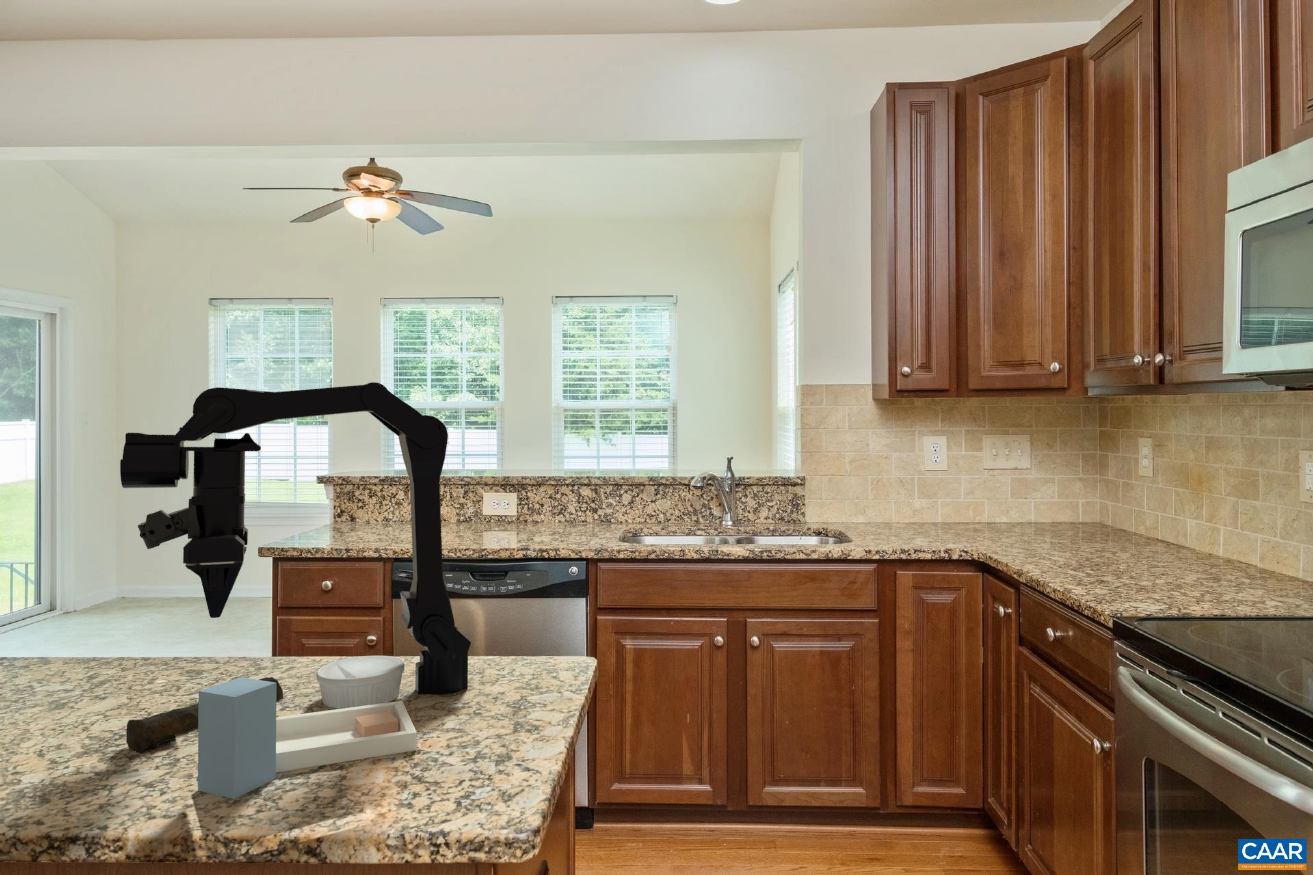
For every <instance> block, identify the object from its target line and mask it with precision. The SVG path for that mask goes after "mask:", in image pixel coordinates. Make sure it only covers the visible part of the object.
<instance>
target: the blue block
mask: <svg viewBox="0 0 1313 875" xmlns="http://www.w3.org/2000/svg"><path fill="white" fill-rule="evenodd" d="M198 703H199V709H198V728H197V730H198V731H197V734H198V736H197V737H198V738H197V742H198V743H197V744H198V745H197V746H198V747H197V792H198V791H199V792H202V793H203V792H204V793H208V794H212V795H215V796H220V797H225V798H229V799H232V800H235V799H237V798H239V797H241V796H243V795H246V794H247V793H249V792H251V791H254V790H256V789H258V788H260V787H262V786H265V785H267V784H268V783H270V782H272V781H274V780H276V778H277V773H276V717H277V701H276V683H275V682H269V681H262V680H259V679H255V678H248V677H242V676H240V677H238V678H235V679H231V680H228V681H224V682H222V683H219V684H217V685H213V686H209V687H207V688H204V689H201V690H198Z"/></svg>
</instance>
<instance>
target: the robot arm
mask: <svg viewBox="0 0 1313 875" xmlns="http://www.w3.org/2000/svg"><path fill="white" fill-rule="evenodd" d="M362 412H367V413H369V414H370V416H373V417H374V418H375V419H376V420H377V421H378V422H380V423H381V424H382V425H383V426H385V428H387V429H388V430H389V431H391V432H392V433H393V434H395V435H396V436H397V437H398V441H399V446H400V450H401V457H402V460H403V464H404V466H405V469H406V472H407V476H408V480H409V491H410V492H409V494H410V496H409V498H410V516H411V518H410V522H411V524H410V525H411V548H412V549H411V550H412V553H411V555H412V582H411V586H410V590H409V591H405V590H403V591H400V592H399V594H400V600H401V604H402V611H401V615H400V620H401V621H402V623H403V625H405V627H406V629H408V631H409V633H410V634H411V636H412V637H413V638H414V640H415V641H416V643H418V644H420V645H421V646H422V647H424V649H423V650H420V651H419V661H417V662H416V663H415V671H414V673H415V677H414V678H415V682H414V683H415V685H414V686H415V687H414V689H415V691H416V693H417V695H432V696H433V695H434V696H435V695H436V696H441V695H442V696H443V695H445V696H446V695H450V694H455V693H459V692H461V691H464V690H468V688H469V672H468V671H469V650H470V647H471V645H472V642H471V640H470V639H468V637H466V635H465V634H464V633H463V632H462V631H461V630H460V629H459V628H458V627H457V626H456V624H455V623H456V622H455V618H454V614H453V608H452V604H451V600H450V597H449V593H448V590H447V588H446V587H447V586H446V583H445V581H444V570H443V564H444V563H443V544H442V543H443V542H442V541H443V540H442V537H443V536H442V535H443V534H442V516H441V515H442V514H441V513H442V511H441V510H442V509H441V508H442V507H441V488H440V487H441V486H440V484H441V483H440V482H441V476H442V472H443V467H444V464H445V460H446V454H447V448H448V447H447V446H448V440H449V434H448V428H447V427H446V425H445V423H444V422H443V421H441V419H439V418H437V417H435V416H433V415H427V414H425V415H423V414H422V413H420V412H419V411H418V410H417V409H416V408H415V407H413V406H411V405H410V404H408V403H407V402H405V401H404V400H403V399H401V398H400V397H398V396H397V395H395V394H394V393H392V392H391V391H390V390H388V388H387V386H385V385H384V384H382V383H381V382H380V383H379V382H377V381H376V382H373V381H371V382H367V383H366V384H358V385H345V386H343V385H342V386H333V387H322V388H309V389H298V390H296V389H295V390H286V391H265V390H255V389H247V388H246V389H245V388H243V389H242V388H233V387H231V388H230V387H219V386H218V387H212V388H208V389H206V390H203V391H202V392H200V394H199V395H198V396H197V397H196V398H195V400H194V402H193V406H192V415H191V417H190V418H189V419H188V420H187V421H186V422H185V423H184V425H183V426H182V427H181V426H180V427H179V428H178V431H177V432H176V434H147V433H143V432H126V433H125V434H124V435H125V436H124V437H125V439H124V440H125V442H124V446H123V449H122V458H121V459H120V460H119V462H120V463H119V467H120V469H119V474H120V475H119V476H120V483H121V487H122V488H123V489H149V488H150V489H154V488H156V489H158V488H159V489H160V488H161V489H162V488H164V489H167V488H178V484H179V481H180V480H188V478H189V471H190V469H189V465H190V464H189V462H190V460H189V459H190V458H189V456H190V454H189V453H190V452H193V490H192V494H193V495H192V496H191V497H190V498H189V499H188V506H187V507H185V508H182V509H179V510H176V511H173V512H170V513H166V512H165V511H164V510H163V509H160V510H159V509H158V511H154V512H151V513H148V514H146V517H145V521H143V522H141V523H140V524H137V528H138V531H139V537H140V538H141V539H142V540H143V542H144V545H145V547H146V549H147V550H151V549H154V548H157V547H159V546H161V544H163V543H166V542H169V541H172V540H175V539H178V538H181V537H183V536H185V535H187V539H188V540H189V541H188V542H187V543H186V544H185V545H184V546H183V547H182V548H183V551H182V552H183V555H182V559H183V560H182V564H184V565H185V568H186V569H187V570H190V571H191V572H192V573H194V574H195V575H197V576H198V577H199V578H200V581H201V585H202V590H203V594H204V597H205V598H204V599H205V602H206V605H207V609H208V614H209V617H210V618H211V619H214V618H215V619H217V618H220V617H222V614H223V612H224V609H225V606H226V605H227V602H228V600H229V597H230V595H231V592H232V590H233V588H234V585H235V583H236V581H237V579H238V576H239V574H240V571H241V569H242V567H243V565H244V560H245V555H246V552H247V548H248V547H247V545H248V544H249V529H248V528H247V527H246V525H245V502H246V493H245V491H246V490H245V489H246V488H245V486H246V485H245V483H246V482H245V481H246V479H245V478H246V452H260V451H261V450H262V446H261V445H260V444H258V443H257V442H256V441H255V440H254V439H253V437H251V434H250V433H248V432H246V433H244V434H243V435H242V436H241V438H214V441H213V446H185V442H199V441H202V440H204V439H206V438H207V437H209V436H210V435H212V434H221V435H222V434H229V433H234V432H236V431H237V432H238V431H241V430H245V429H248V428H253V427H256V426H259V425H264V424H268V423H270V422H274V421H279V420H289V419H300V418H311V417H319V416H320V417H322V416H331V415H341V414H352V413H362Z"/></svg>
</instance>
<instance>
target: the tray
mask: <svg viewBox="0 0 1313 875" xmlns="http://www.w3.org/2000/svg"><path fill="white" fill-rule="evenodd" d="M385 711H389V712H390V713H391V714H392V715H393V716H394V717H395V718H396V719H398V732H395V733H388V734H381V735H374V736H368V737H361V736H360V735H359V734H358V732H357V731H356V730H355V717H359V716H364V715H370V714H375V713H380V712H385ZM417 733H418V732H417V729H416V728H415V725H414V724H413V721H412V719H411V717H410V715H409V713H408V711H407V708H406V706H405V704H404V702H403V701H402V700H398V701H390V702H387V703H381V704H374V705H366V706H359V707H351V708H343V709H339V708H335V709H331V710H322V711H314V712H308V713H307V712H306V713H299V714H291V715H285V716H284V715H283V716H278V717H277V716H276V774H278V773H283V772H289V771H296V770H302V769H309V768H313V767H321V766H326V765H334V764H338V763H340V764H341V763H345V762H352V761H357V760H364V759H371V758H376V757H377V758H378V757H383V756H391V755H395V754H402V753H408V752H414V751H418V750H417V748H418V745H417V743H418V739H417V738H418V736H417V735H418V734H417Z"/></svg>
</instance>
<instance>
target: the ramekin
mask: <svg viewBox="0 0 1313 875" xmlns="http://www.w3.org/2000/svg"><path fill="white" fill-rule="evenodd" d="M404 671H405V662H404V661H403V660H402V659H400V658H397V657H395V656H391V655H364V656H355V657H348V658H344V659H338V660H336V661H332V662H329V663H328V664H325V665H323V666H322V667H320V668H318V670H316V681H317V682H318V685H319V689H320V695H321V699H322V703H323V704H324V706H326V707H328V708H333V709H343V708H351V707H359V706H366V705H374V704H381V703H389V702H393V700H396V699H397V698H398V697H399V694H400V689H401V683H402V677H403V673H404Z"/></svg>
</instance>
